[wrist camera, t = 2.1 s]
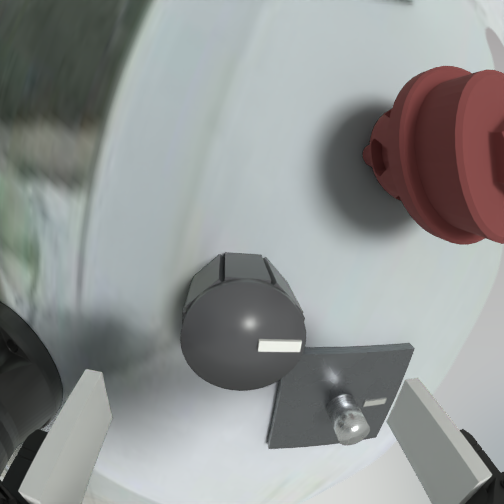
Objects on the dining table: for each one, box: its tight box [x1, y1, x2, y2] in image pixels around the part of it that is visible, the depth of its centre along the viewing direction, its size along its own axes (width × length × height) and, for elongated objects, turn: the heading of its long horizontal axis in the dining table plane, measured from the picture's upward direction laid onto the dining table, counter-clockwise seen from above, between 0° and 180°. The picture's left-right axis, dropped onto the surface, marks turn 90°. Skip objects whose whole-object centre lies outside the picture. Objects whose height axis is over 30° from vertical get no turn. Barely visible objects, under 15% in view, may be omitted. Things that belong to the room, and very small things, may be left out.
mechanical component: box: [363, 66, 504, 244], centre depth 14 cm, size 12×10×10 cm
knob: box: [181, 252, 306, 391], centre depth 19 cm, size 7×7×6 cm
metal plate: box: [267, 343, 415, 449], centre depth 23 cm, size 12×12×5 cm
